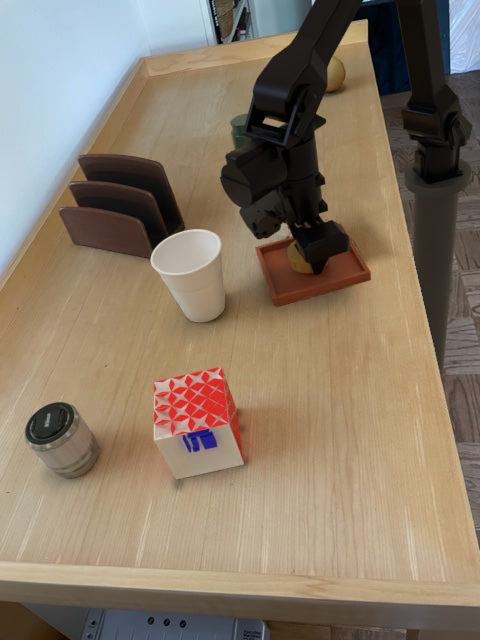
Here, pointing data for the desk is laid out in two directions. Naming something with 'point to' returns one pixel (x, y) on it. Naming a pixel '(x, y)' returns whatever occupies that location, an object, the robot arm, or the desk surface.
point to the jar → (239, 131)
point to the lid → (298, 260)
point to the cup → (193, 272)
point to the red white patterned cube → (197, 423)
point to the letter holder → (122, 205)
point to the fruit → (335, 74)
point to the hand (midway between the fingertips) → (310, 262)
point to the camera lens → (62, 439)
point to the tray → (304, 285)
